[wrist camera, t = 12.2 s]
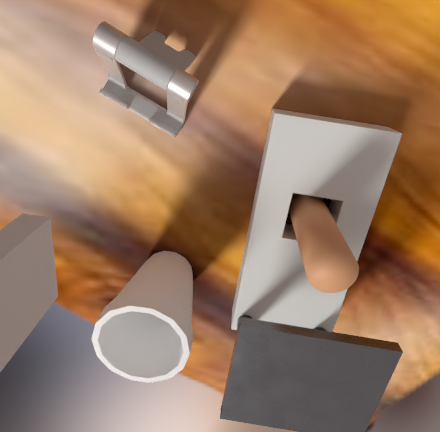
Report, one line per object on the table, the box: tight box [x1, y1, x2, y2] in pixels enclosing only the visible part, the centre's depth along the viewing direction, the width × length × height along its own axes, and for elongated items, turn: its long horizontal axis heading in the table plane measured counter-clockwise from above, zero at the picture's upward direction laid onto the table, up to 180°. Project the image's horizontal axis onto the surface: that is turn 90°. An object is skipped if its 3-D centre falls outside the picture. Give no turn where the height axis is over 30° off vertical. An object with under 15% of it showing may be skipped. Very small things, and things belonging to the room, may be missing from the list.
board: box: [231, 108, 402, 332], centre depth 40 cm, size 26×12×4 cm, turn 172°
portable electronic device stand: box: [93, 21, 199, 137], centre depth 32 cm, size 9×8×8 cm
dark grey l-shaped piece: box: [220, 315, 403, 432], centre depth 36 cm, size 11×13×12 cm
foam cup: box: [92, 251, 193, 383], centre depth 39 cm, size 10×9×13 cm
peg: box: [289, 193, 359, 293], centre depth 34 cm, size 4×4×14 cm
